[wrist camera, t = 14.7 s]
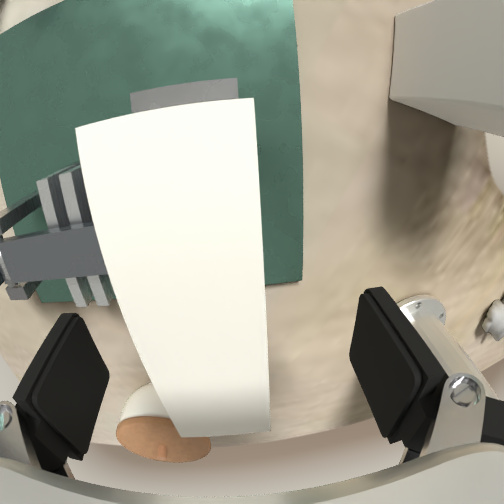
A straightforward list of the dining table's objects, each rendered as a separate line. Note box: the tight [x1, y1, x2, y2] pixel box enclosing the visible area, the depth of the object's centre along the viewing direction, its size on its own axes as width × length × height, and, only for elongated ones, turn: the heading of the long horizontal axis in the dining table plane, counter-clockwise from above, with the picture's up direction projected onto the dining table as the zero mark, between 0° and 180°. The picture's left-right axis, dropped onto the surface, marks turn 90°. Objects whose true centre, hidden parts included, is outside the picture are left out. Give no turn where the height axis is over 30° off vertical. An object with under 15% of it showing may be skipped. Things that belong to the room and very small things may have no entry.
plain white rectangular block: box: [75, 98, 271, 437], centre depth 11 cm, size 12×4×6 cm, turn 4°
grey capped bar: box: [0, 221, 108, 288], centre depth 15 cm, size 4×22×2 cm, turn 94°
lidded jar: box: [116, 382, 211, 463], centre depth 29 cm, size 11×11×9 cm
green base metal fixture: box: [0, 0, 303, 307], centre depth 15 cm, size 27×26×11 cm
